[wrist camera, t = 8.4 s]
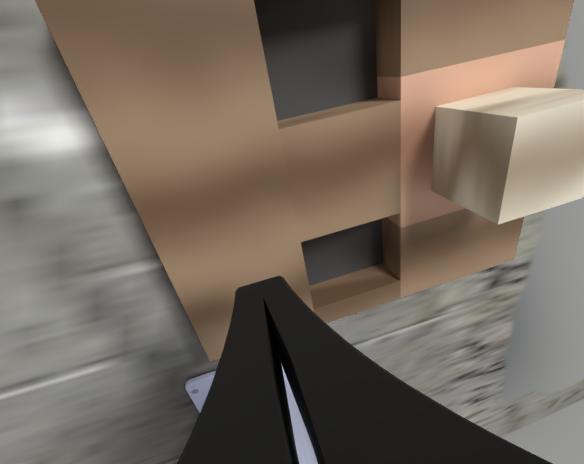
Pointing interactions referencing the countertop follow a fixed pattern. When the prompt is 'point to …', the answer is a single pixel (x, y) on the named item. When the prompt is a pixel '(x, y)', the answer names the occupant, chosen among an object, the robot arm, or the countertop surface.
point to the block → (510, 151)
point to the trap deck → (299, 136)
